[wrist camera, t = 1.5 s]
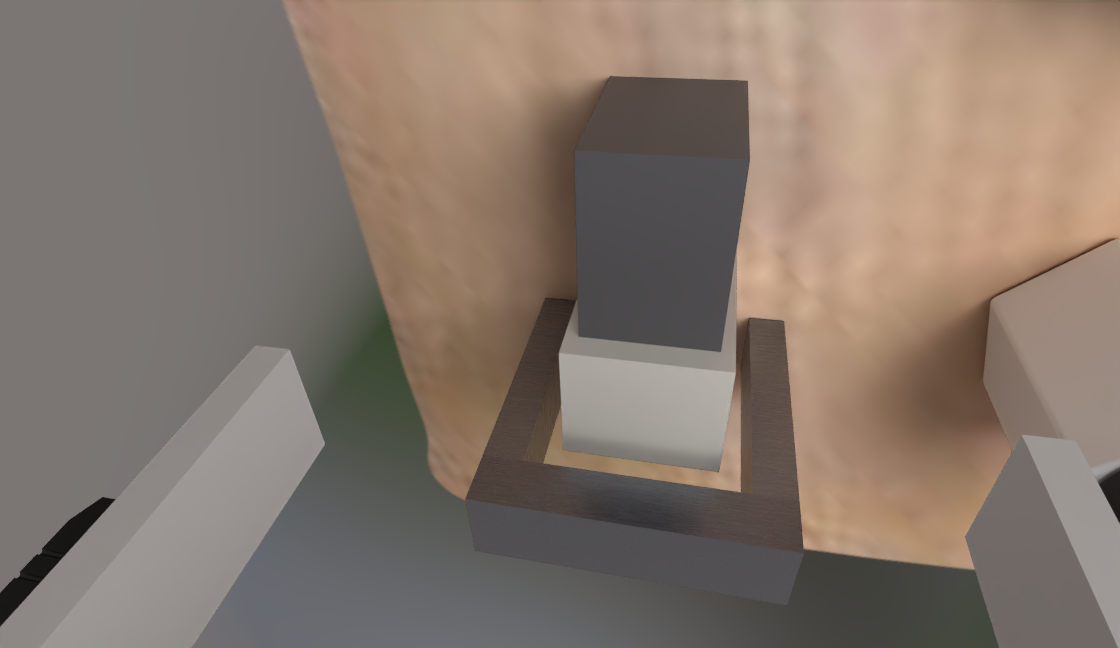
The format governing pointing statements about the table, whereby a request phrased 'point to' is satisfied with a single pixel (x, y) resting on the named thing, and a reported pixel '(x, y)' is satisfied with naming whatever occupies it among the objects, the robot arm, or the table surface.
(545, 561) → the frame
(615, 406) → the plug
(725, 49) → the table surface
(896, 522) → the table surface
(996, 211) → the table surface
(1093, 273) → the jar
